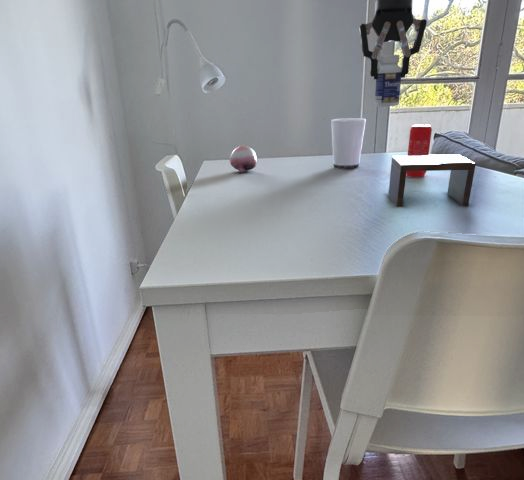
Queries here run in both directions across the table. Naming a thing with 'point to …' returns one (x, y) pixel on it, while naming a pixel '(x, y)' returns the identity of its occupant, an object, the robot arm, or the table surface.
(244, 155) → the onion
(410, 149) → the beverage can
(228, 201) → the table surface
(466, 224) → the table surface
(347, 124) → the cup
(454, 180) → the shelf
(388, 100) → the pill bottle
